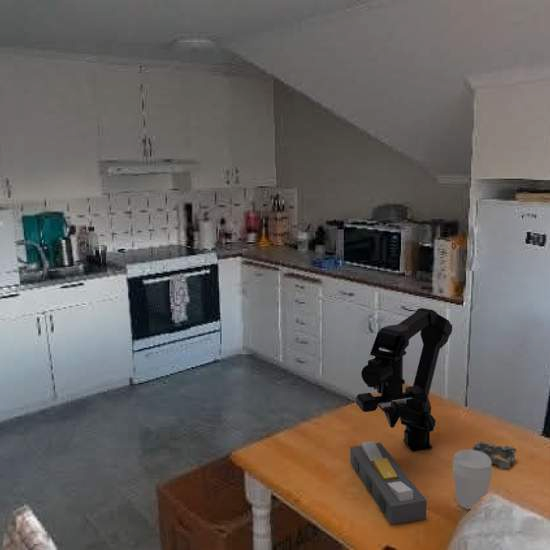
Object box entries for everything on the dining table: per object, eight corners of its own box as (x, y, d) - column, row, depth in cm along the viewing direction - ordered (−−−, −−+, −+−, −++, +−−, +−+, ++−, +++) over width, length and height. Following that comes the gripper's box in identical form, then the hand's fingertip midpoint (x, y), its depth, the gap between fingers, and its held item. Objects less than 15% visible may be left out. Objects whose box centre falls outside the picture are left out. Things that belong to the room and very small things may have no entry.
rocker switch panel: (380, 458, 160) (380, 442, 159) (426, 518, 134) (426, 500, 133) (349, 463, 159) (349, 447, 158) (390, 525, 132) (390, 506, 131)
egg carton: (517, 462, 157) (518, 448, 156) (505, 473, 152) (506, 459, 151) (481, 448, 164) (482, 435, 163) (468, 458, 159) (469, 445, 158)
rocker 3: (401, 490, 140) (400, 480, 140) (413, 499, 133) (412, 489, 133) (387, 492, 140) (386, 483, 140) (399, 501, 133) (398, 492, 133)
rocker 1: (373, 446, 158) (373, 440, 157) (382, 465, 152) (383, 458, 150) (360, 448, 157) (361, 442, 156) (370, 467, 151) (370, 460, 150)
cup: (446, 493, 143) (447, 450, 141) (480, 490, 144) (482, 448, 141) (460, 515, 135) (462, 470, 132) (496, 512, 135) (499, 467, 133)
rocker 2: (386, 464, 149) (386, 457, 148) (396, 483, 143) (397, 476, 142) (373, 466, 148) (373, 459, 147) (383, 485, 142) (384, 478, 141)
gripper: (410, 359, 160) (409, 409, 164) (348, 367, 156) (349, 418, 160) (429, 373, 149) (428, 427, 153) (363, 383, 146) (364, 437, 149)
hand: (391, 427), depth 154 cm, fingers closed
